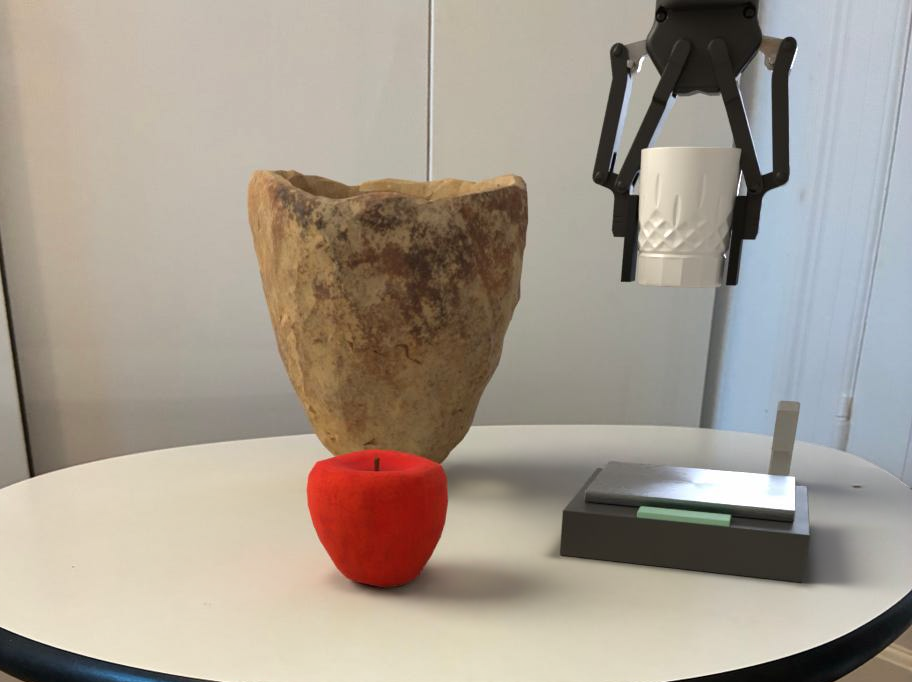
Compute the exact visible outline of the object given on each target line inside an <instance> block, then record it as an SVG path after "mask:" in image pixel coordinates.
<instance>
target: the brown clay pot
mask: <svg viewBox="0 0 912 682" xmlns="http://www.w3.org/2000/svg"><path fill="white" fill-rule="evenodd" d="M527 187H528V186H527V183H526V181H525V180H524V179H523V177H522V176H520V175H517V174H514V173H509V174H503V175H498V176H495V177H493V178H491V179H483V180H481V181H478V182H476V181H470V180H464V179H459V178H458V179H457V178H452V177H448V178H443V179H436V180H429V181H416V180H410V179H409V180H408V179H401V178H390V177H386V178H380V179H379V178H378V179H372V180H367V181H364V182H361V183H359V184H358V183H357V184H356V185H348V184H345V183H343V182H340V181H337V180H334V179H330V178H327V177H325V176H324V177H323V176H320V175H313V174H303V173H301V172H299V171H297V170H295V169H289V170H284V169H283V170H282V169H276V170H269V169H261V170H259V169H257V170H254V172H252V175H251V179H250V180H249V183H248V187H247V217H248V219H247V220H248V224H249V225H248V226H249V228H250V232H251V236H252V240H253V248H254V251H255V254H256V259H257V263H258V265H259V275H260V279H261V284H262V290H263V294H264V298H265V301H266V305H267V310H268V313H269V318H270V322H271V326H272V331H273V333H274V336H275V341H276V342H275V343H276V347H277V351H278V353H279V356H280V359H281V361H282V364H283V367H284V369H285V371H286V373H287V376H288V378H289V381H290V383H291V387H292V388H293V391H294V392H295V394H296V396H297V399H298V401H299V403H300V405H301V407H302V408H303V411H304V412H305V416H306V417H307V419H308V421H309V423H310V426H311V428H312V430H313V432H314V434H315V436H316V438H318V440H319V442H320V443H321V444H322V445H323V447H324V448H325V449H327V451H328V452H329V453H330V454H332V456H333V457H336V456H339V455H344V454H348V453H352V452H356V451H363V450H370V449H375V450H393V451H398V452H404V453H409V454H413V455H417V456H421V457H424V458H426V459H428V460H431V461H433V462H436V463H439V464H441V465H442V463H443V462H445V460H446V459H448V457H449V455H450V454H451V452H452V451H453V450H454V449H455V448H456V447H457V446H458V445H459V444H460V443H462V441H463V440H464V438H465V437H466V435H467V434H468V433H469V431H470V429H471V427H472V425H473V422H474V419H475V417H476V416H475V415H476V413H477V409H478V406H479V404H480V402H481V401H480V400H481V398H482V396H483V394H484V392H485V390H486V388H487V386H488V384H489V383H490V382H491V380H492V378H493V376H494V374H495V372H496V371H497V368H498V366H499V365H500V361H501V357H502V353H503V348H504V342H505V337H506V334H507V331H508V329H509V326H510V323H511V321H512V319H513V316H514V314H515V313H514V312H515V309H516V308H517V306H518V304H519V302H520V300H521V298H522V297H521V281H522V280H521V279H522V273H523V264H524V263H523V262H524V252H525V249H526V247H527V232H528V226H529V225H528V224H529V201H528V200H529V199H528V198H529V197H528V189H527Z"/></svg>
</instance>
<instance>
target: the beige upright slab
mask: <svg viewBox="0 0 912 682" xmlns="http://www.w3.org/2000/svg"><path fill="white" fill-rule="evenodd" d="M776 409H777V410H776V415H775V423H774V429H773V436H772V437H773V438H772V444H771V451H770V452H771V453H770V459H769V465H768V473H767V475H777V476H788V477H790V473H791V472H790V471H791V465H792V458H793V453H794V448H795V442H796V441H795V440H796V436H797V429H798V422H799V416H800V411H801V403H800V402H799V401H793V400H792V401H791V400H779V401H778V403H777V408H776Z"/></svg>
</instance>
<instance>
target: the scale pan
mask: <svg viewBox="0 0 912 682" xmlns="http://www.w3.org/2000/svg"><path fill="white" fill-rule="evenodd" d="M795 485H796V476H789V477H788V476H777V475H768V474H766V473H765V474H764V473H753V472H742V471H731V470H730V471H729V470H719V469H718V470H717V469H707V468H694V467H684V466H672V465H671V466H669V465H660V464H649V463H648V464H647V463H637V462H625V461H615V460H614V461H613V460H609V461H608V462H607V463H606V464H605V465H604V467H603V469H602V471H601V472H600V473H599V474H598V476H597V477H596V478H595V480H594V481H593V482H592V483H591V485H590V486H589V487H588V488H587V490H586V491H585V500H584V501H585V502H593V503H603V504H614V505H624V506H634V507H641V506H645V507H655V508H665V509H676V510H686V511H696V512H706V513H717V514H727V515H731V516H736V517H746V518H756V519H766V520H776V521H787V522H794V518H795V512H796V498H795Z"/></svg>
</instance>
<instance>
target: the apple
mask: <svg viewBox="0 0 912 682" xmlns="http://www.w3.org/2000/svg"><path fill="white" fill-rule="evenodd" d="M448 491H449V489H448V475H447V473H446V472H445V470H444V467H443V465H442V463H441V464H439V463H436V462H433V461H431V460H428V459H426V458H424V457H421V456H417V455H413V454H409V453H404V452H398V451H393V450H375V449H370V450H363V451H356V452H352V453H348V454H344V455H339V456H336V457H335V456H333V457H328V458H325V459H320V460H317V461H316V462H315V464H314V465H313V467H312V468H311V470H310V471H309V473H308V475H307V482H306V500H307V501H306V502H307V509H308V511H309V516H310V519H311V522H312V525H313V528H314V530H315V534H316V535H317V537H318V539H319V542H320V543H321V545H322V547H323V549H324V550H325V551H326V553H327V554H328V556H329V557H330V560H331V561H332V563H333V565H334V566H335V568H336V569H337V570H338V571H339V572H340V573H341V574H342V575H343V576H344V577H345V578H346V579H348V580H350V581H352V582H356V583H360V584H365V585H370V586H374V587H379V588H389V587H399V586H402V585H404V584H407V583H410V582H412V581H414V580H415V579H416V578H417V577H418V576H420V574H421V573H422V572H423V570H424V568H425V567H426V565H427V563H428V562H429V560H430V559H431V557H432V556H433V553H434V551H435V550H436V547H437V546H438V543H439V542H440V540H441V538H442V534H443V532H444V528H445V524H446V520H447V514H448V505H449V493H448Z"/></svg>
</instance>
